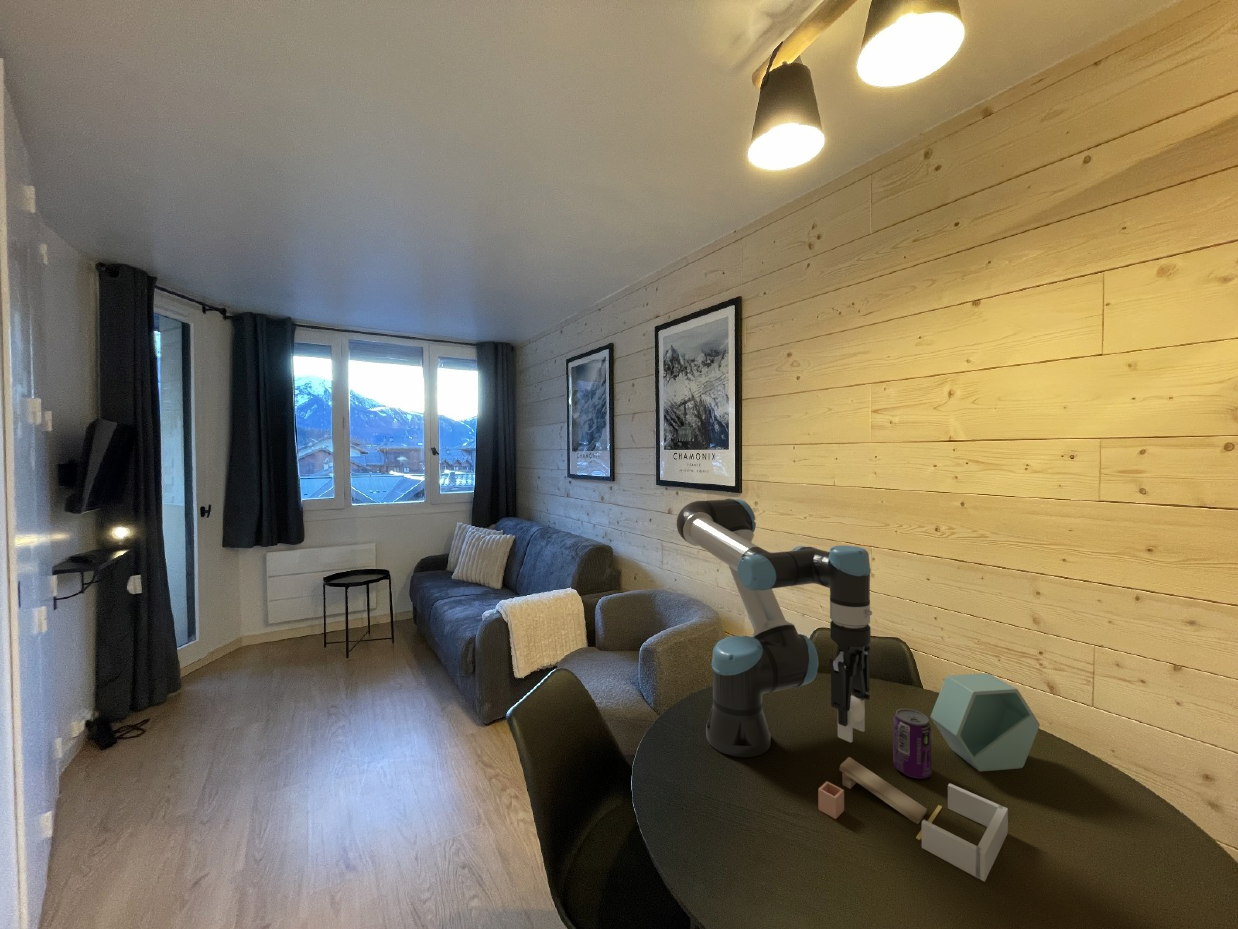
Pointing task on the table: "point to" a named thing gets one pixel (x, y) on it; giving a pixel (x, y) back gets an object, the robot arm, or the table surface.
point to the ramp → (880, 789)
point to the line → (930, 820)
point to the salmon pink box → (831, 799)
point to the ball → (857, 710)
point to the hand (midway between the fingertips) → (851, 733)
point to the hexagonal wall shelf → (985, 721)
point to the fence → (960, 850)
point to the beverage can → (912, 743)
